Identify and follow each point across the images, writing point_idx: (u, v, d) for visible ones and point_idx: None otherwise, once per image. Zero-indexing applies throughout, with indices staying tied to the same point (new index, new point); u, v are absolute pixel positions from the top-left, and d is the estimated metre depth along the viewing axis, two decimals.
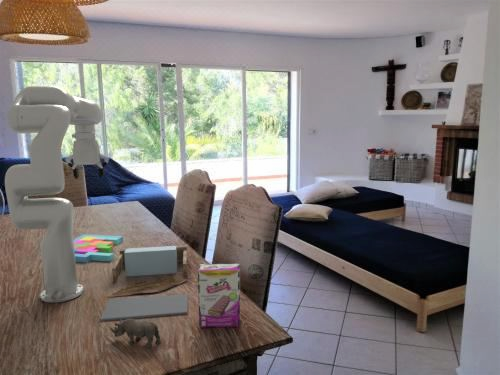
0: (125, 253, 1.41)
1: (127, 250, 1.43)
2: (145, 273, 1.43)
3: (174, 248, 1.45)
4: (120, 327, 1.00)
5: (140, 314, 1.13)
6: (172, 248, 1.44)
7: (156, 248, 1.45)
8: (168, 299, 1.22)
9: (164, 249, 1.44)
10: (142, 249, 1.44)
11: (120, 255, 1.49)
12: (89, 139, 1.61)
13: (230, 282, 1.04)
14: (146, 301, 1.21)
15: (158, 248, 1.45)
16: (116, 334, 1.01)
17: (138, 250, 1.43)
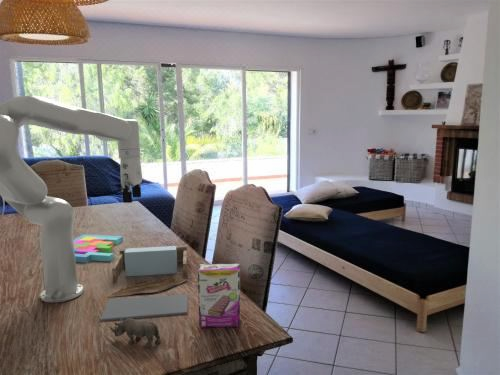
0: (125, 253, 1.41)
1: (127, 250, 1.43)
2: (145, 273, 1.43)
3: (174, 248, 1.44)
4: (120, 326, 1.00)
5: (140, 314, 1.13)
6: (172, 248, 1.44)
7: (156, 248, 1.45)
8: (168, 299, 1.22)
9: (164, 249, 1.44)
10: (142, 249, 1.44)
11: (120, 255, 1.49)
12: None
13: (230, 282, 1.04)
14: (146, 301, 1.21)
15: (158, 248, 1.45)
16: (116, 334, 1.01)
17: (138, 250, 1.43)
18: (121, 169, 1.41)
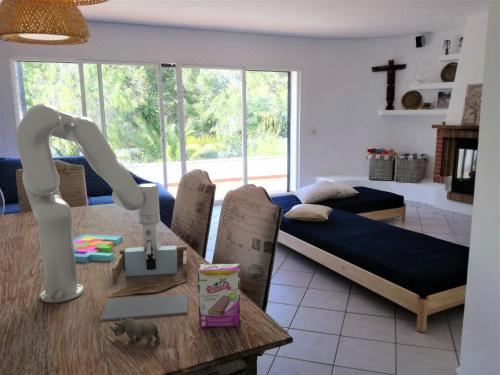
0: (125, 252, 1.41)
1: (127, 249, 1.43)
2: (145, 273, 1.43)
3: (174, 248, 1.44)
4: (120, 326, 1.00)
5: (140, 314, 1.13)
6: (172, 248, 1.44)
7: None
8: (168, 299, 1.22)
9: (164, 249, 1.43)
10: (142, 248, 1.44)
11: (120, 255, 1.49)
12: None
13: (230, 282, 1.04)
14: (146, 301, 1.21)
15: None
16: (116, 333, 1.01)
17: (138, 249, 1.43)
18: (144, 236, 1.38)
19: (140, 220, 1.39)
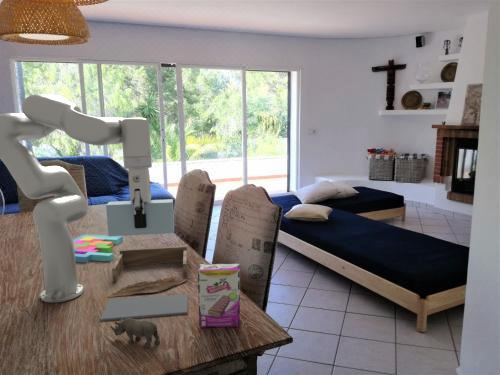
0: (107, 206, 1.10)
1: (110, 203, 1.12)
2: (133, 232, 1.12)
3: (170, 201, 1.14)
4: (120, 325, 1.01)
5: (140, 314, 1.13)
6: (167, 201, 1.14)
7: None
8: (168, 299, 1.22)
9: (157, 202, 1.13)
10: (129, 202, 1.13)
11: (120, 255, 1.49)
12: None
13: (230, 282, 1.04)
14: (146, 301, 1.21)
15: (150, 201, 1.14)
16: (116, 333, 1.01)
17: (124, 202, 1.12)
18: (131, 183, 1.07)
19: (126, 163, 1.09)
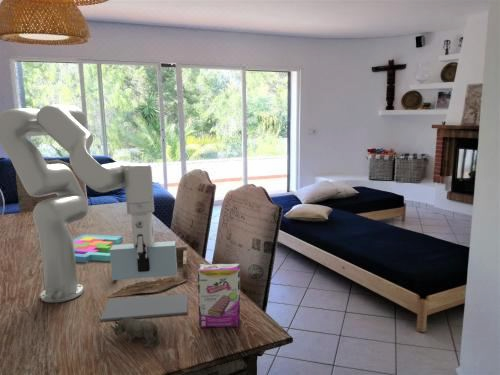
0: (111, 250, 1.12)
1: (114, 247, 1.14)
2: (136, 275, 1.14)
3: (172, 244, 1.15)
4: (120, 325, 1.01)
5: (140, 314, 1.13)
6: (170, 244, 1.15)
7: None
8: (168, 299, 1.22)
9: (160, 245, 1.14)
10: (132, 245, 1.15)
11: None
12: None
13: (230, 282, 1.04)
14: (146, 301, 1.21)
15: (153, 244, 1.16)
16: (116, 332, 1.01)
17: (127, 246, 1.14)
18: (134, 229, 1.09)
19: (129, 209, 1.10)
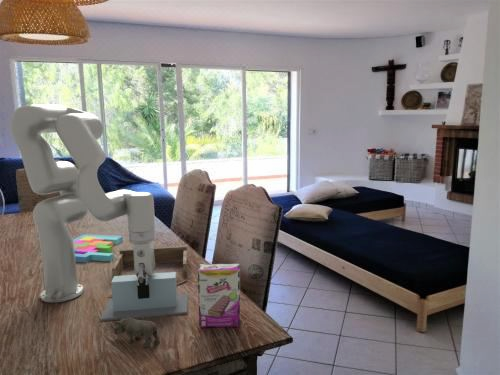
0: (112, 283, 1.14)
1: (115, 279, 1.16)
2: (137, 307, 1.16)
3: (173, 275, 1.17)
4: (120, 325, 1.01)
5: (140, 314, 1.13)
6: (171, 276, 1.17)
7: (151, 276, 1.17)
8: None
9: (161, 277, 1.16)
10: (133, 277, 1.17)
11: (120, 255, 1.49)
12: None
13: (230, 282, 1.04)
14: None
15: (153, 276, 1.17)
16: (116, 332, 1.02)
17: (128, 278, 1.16)
18: (135, 258, 1.11)
19: (131, 238, 1.12)
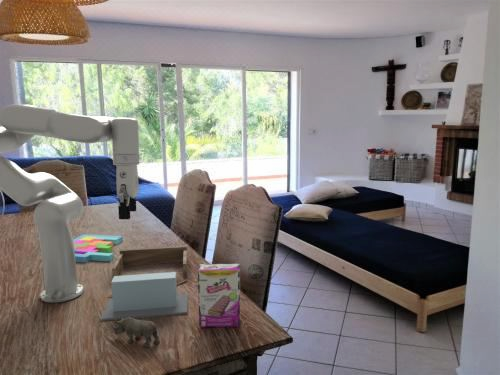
0: (112, 283, 1.14)
1: (115, 279, 1.16)
2: (137, 307, 1.16)
3: (173, 275, 1.17)
4: (120, 325, 1.01)
5: (140, 314, 1.13)
6: (171, 276, 1.17)
7: (151, 276, 1.17)
8: None
9: (161, 277, 1.16)
10: (133, 277, 1.17)
11: (120, 255, 1.49)
12: None
13: (230, 282, 1.04)
14: None
15: (153, 276, 1.17)
16: (116, 332, 1.02)
17: (128, 278, 1.16)
18: (118, 179, 1.15)
19: (114, 160, 1.16)
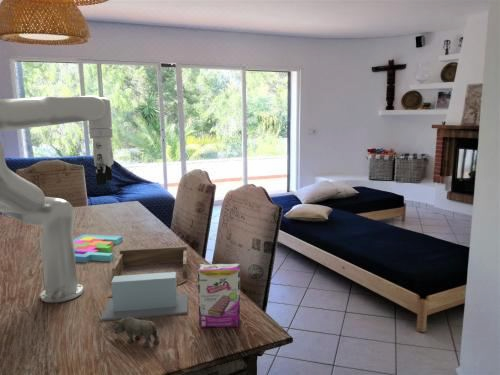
0: (112, 283, 1.14)
1: (115, 279, 1.16)
2: (137, 307, 1.16)
3: (173, 275, 1.17)
4: (120, 324, 1.01)
5: (140, 314, 1.13)
6: (171, 276, 1.17)
7: (151, 276, 1.17)
8: None
9: (161, 277, 1.16)
10: (133, 277, 1.17)
11: (120, 255, 1.49)
12: None
13: (230, 282, 1.04)
14: None
15: (153, 276, 1.17)
16: (116, 331, 1.02)
17: (128, 278, 1.16)
18: (94, 149, 1.35)
19: (91, 134, 1.36)
